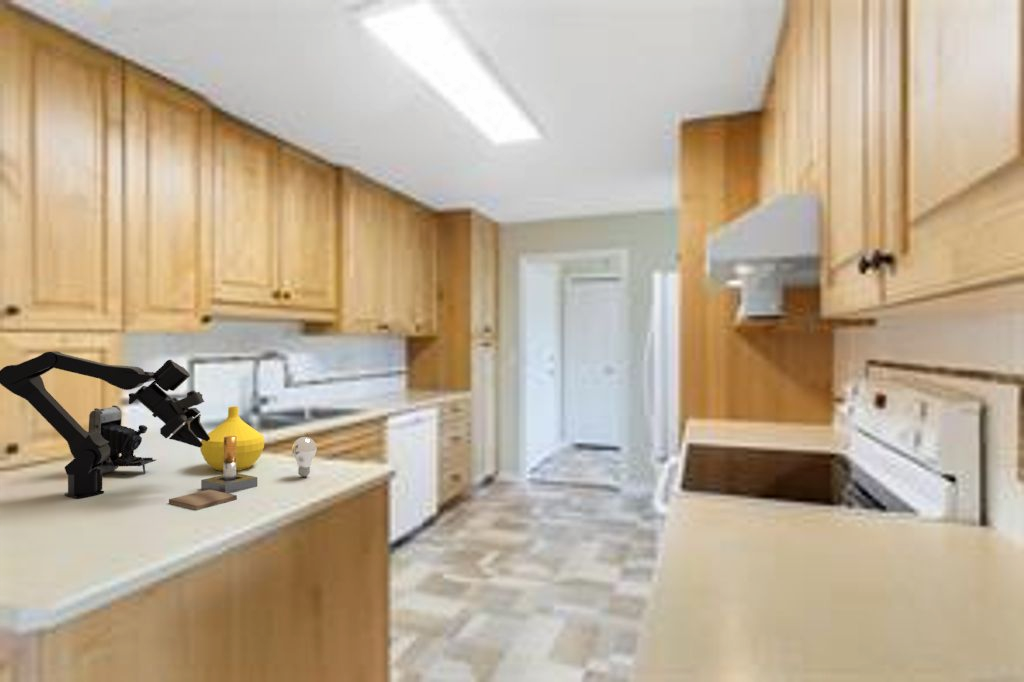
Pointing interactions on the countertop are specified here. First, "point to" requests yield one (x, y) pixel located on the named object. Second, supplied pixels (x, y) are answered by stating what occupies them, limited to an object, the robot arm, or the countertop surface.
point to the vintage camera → (117, 439)
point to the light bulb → (304, 454)
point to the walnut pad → (202, 499)
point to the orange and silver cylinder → (229, 458)
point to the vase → (246, 448)
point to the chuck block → (229, 483)
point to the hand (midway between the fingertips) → (205, 443)
